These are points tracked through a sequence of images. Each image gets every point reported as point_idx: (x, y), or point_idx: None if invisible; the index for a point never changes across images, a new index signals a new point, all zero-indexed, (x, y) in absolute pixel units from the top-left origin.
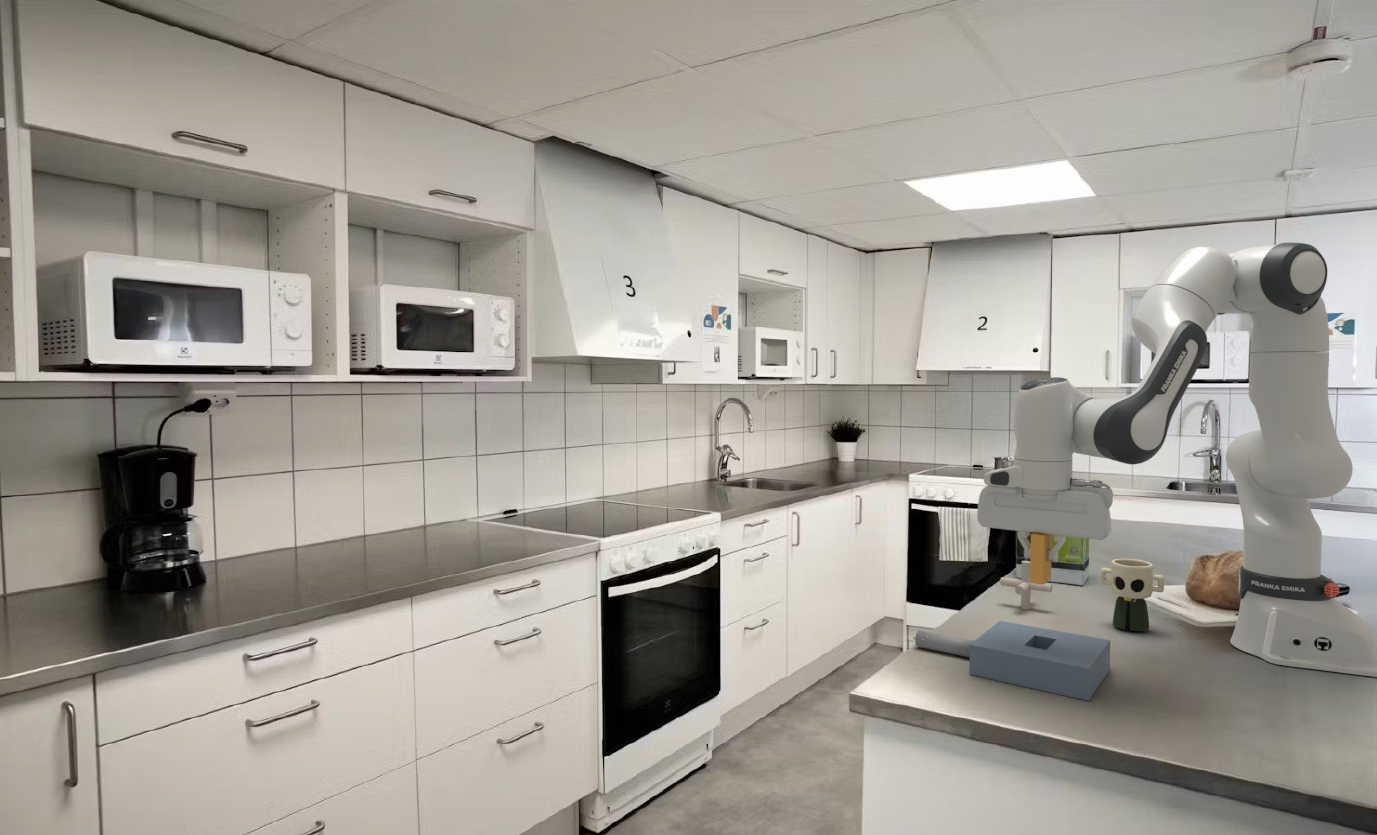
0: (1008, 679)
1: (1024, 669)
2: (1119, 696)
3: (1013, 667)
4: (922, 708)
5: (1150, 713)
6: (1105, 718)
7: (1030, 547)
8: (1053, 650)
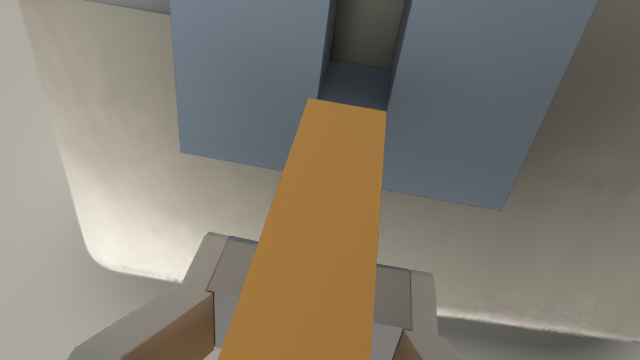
0: None
1: None
2: (575, 101)
3: None
4: None
5: (624, 174)
6: (511, 228)
7: (216, 315)
8: (408, 107)
